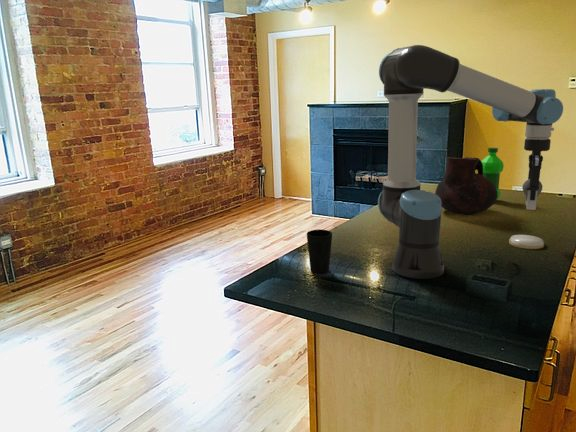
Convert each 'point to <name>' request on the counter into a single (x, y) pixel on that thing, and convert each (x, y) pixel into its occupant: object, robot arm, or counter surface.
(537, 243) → the white plate
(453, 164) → the jug
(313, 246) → the cup
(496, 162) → the plastic bottle
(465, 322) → the counter surface
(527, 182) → the light bulb
